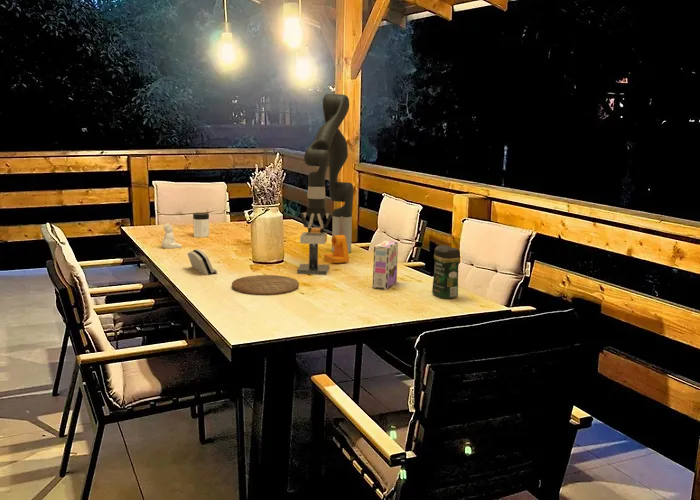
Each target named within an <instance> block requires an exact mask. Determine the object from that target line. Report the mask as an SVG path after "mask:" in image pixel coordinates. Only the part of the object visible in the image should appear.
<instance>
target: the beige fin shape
mask: <svg viewBox="0 0 700 500" xmlns="http://www.w3.org/2000/svg"><path fill="white" fill-rule="evenodd" d="M187 257H188V258H189V262H190V265H191V267H192V269H194V268H195V269H194V270H196V271H198V272H199V271H200V272H199V273H201V272H202V273H201V274H203V275H205V276H208V275H210V273H211V274H213V273H214V274H215V273H216V275H217V274H218V272H217V269H215V268H213V266H212V264H211V261H210V259H209V256H208V255H207V254H205V252H204V251H202V250H201V249H198V248H197V249H192V250H190V251H189V252H188V253H187Z"/></svg>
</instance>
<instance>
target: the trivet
mask: <svg viewBox="0 0 700 500" xmlns="http://www.w3.org/2000/svg"><path fill="white" fill-rule="evenodd" d="M299 286H300V282H299V281H298V280H297V279H295V278H292V277H289V276H285V275H273V274H263V275H261V274H260V275H257V274H256V275H249V276H243V277H239V278H236V279H235V280H232V283H231V288H232V290H233V291H235V292H237V293H241V294H246V295H250V296H251V295H253V296H275V295H276V296H279V295H285V294H289V293H292V292H295V291H297V290H298V289H299Z"/></svg>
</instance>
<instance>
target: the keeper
mask: <svg viewBox="0 0 700 500" xmlns="http://www.w3.org/2000/svg"><path fill="white" fill-rule="evenodd" d="M308 247H309V248H308V251H309V253H308V263H300V265H299V266H298V268H297V270H296V274H298V275H299V274H300V275H327V273H328V272H329V269H330V266H329V264H319V263H318V261H319V259H318V258H319V244H308Z"/></svg>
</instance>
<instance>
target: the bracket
mask: <svg viewBox="0 0 700 500" xmlns="http://www.w3.org/2000/svg"><path fill="white" fill-rule="evenodd" d="M332 246H333V247H334V252H333V253H332V252H331V253H324V254H323V256H324V257H323V259H324V260H325V262H327V263H329V264H340V263H347V262H348V263H349V262H350V256H349V254H350V253H348V248H347V241H346V237H345V235H333V236H331V247H332Z"/></svg>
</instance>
